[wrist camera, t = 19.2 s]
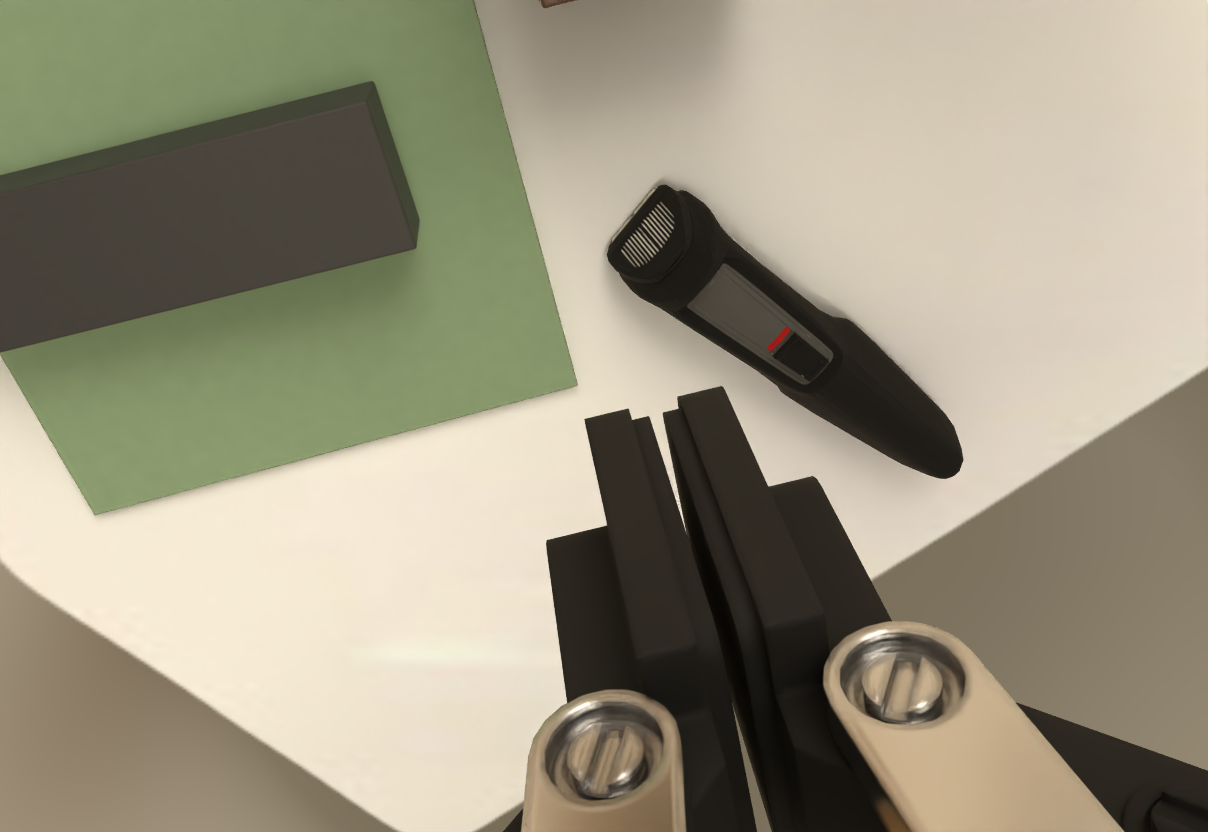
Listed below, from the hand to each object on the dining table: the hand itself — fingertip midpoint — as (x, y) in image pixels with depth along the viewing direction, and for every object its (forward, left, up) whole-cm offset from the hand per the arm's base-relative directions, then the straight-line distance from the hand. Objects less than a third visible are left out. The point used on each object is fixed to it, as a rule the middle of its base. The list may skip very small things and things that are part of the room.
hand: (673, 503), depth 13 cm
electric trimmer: (+11, +7, -24) cm, 28 cm away
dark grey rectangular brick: (+1, -11, -22) cm, 25 cm away
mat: (+1, -10, -24) cm, 26 cm away
